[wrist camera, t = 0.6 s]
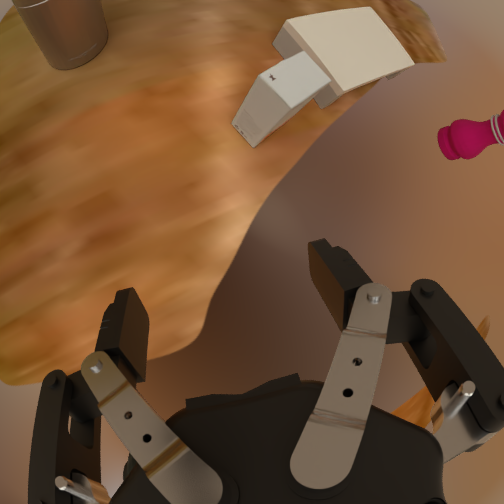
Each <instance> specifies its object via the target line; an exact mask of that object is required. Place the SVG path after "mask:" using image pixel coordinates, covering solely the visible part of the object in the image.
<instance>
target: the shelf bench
mask: <svg viewBox="0 0 504 504" xmlns="http://www.w3.org/2000/svg"><path fill="white" fill-rule="evenodd" d="M272 45H273V46H274V47H275V48H276V49H277V51H278V52H279V53H280V54H281V56H282V57H283V58H284V59H287V58H290V57H291V56H293V55H295V54H297V53H299V52H301V51H305V52H306V53H307V54H308V55H309V57H310V58H311V59H312V60H313V61H314V62H315V63H316V64H317V65H318V66H319V67H320V68H321V69H322V70H323V71H324V73H325V74H326V75H327V76H328V77H329V78H330V79H331V80H332V81H331V82H330V83H329V84H328V85H327V86H326V87H325V88H324V89H322V90H321V91H320V92H319V93H318V94H317V95H316V96H315V97H314V100H315V101H316V102H317V104H318V105H319V107H320V108H321V109H323V108H325V107H327V106H329V105H330V104H332V103H333V102H334V101H335V100H337V99H338V98H339V97H341V96H342V95H343V94H345V93H346V92H348V91H351V90H353V89H356V88H358V87H360V86H363V85H365V84H368V83H370V82H373V81H375V80H378V79H380V78H383V77H385V76H386V77H387V78H388V79H391V78H394V77H395V76H397V75H398V74H400V73H401V72H403V71H405V70H406V69H408V68H410V67H411V66H413V65H415V63H414V62H413V61H412V59H411V58H410V56H409V55H408V53H407V52H406V51H405V49H404V48H403V46H402V45H401V44H400V42H399V41H398V40H397V38H396V37H395V36H394V35H393V33H392V32H391V31H390V30H389V28H388V27H387V26H386V25H385V23H384V22H383V21H382V20H381V19H380V17H379V16H378V15H377V14H376V13H375V12H374V11H373V9H372V8H371V7H361V8H352V9H343V10H336V11H329V12H323V13H317V14H311V15H306V16H301V17H296V18H292V19H287V20H286V21H285V23H284V25H283V26H282V28H281V30H280V31H279V33H278V35H277V36H276V38H275V40H274V42H273V43H272Z"/></svg>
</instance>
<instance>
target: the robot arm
mask: <svg viewBox="0 0 504 504" xmlns="http://www.w3.org/2000/svg"><path fill="white" fill-rule="evenodd" d="M12 2H13V3H14V5H15V7H16V9H17V10H18V12H19V14H20V16H21V17H22V19H23V21H24V23H25V24H26V26H27V28H28V29H29V31H30V33H31V34H32V36H33V38H34V39H35V41H36V43H37V44H38V46H39V47H40V49H41V51H42V52H43V54H44V56H45V57H46V59H47V60H48V62H49V63H50V65H51V66H52V67H54V68H56V69H60V70H68V69H72V68H76V67H78V66H81V65H83V64H85V63H87V62H88V61H90V60H91V59H92V58H94V57H95V56H96V55H97V54H98V53H99V52H100V51H101V50H102V48H103V47H104V45H105V44H106V41H107V38H108V31H107V27H106V23H105V18H104V13H103V9H102V5H101V1H100V0H12ZM308 255H309V268H310V275H311V278H312V281H313V283H314V285H315V287H316V288H317V290H318V292H319V294H320V295H321V297H322V299H323V301H324V302H325V304H326V306H327V307H328V309H329V311H330V313H331V315H332V316H333V318H334V320H335V322H336V323H337V325H338V327H339V329H340V331H341V332H342V335H341V338H340V341H339V344H338V347H337V350H336V353H335V356H334V359H333V362H332V365H331V367H330V370H329V373H328V375H327V378H326V381H325V382H321V381H314V380H300V378H299V375H298V373H295V374H292V375H289V376H285V377H282V378H278V379H274V380H271V381H268V382H266V383H265V384H263V385H261V386H259V387H257V388H255V389H253V390H250V391H248V392H247V393H244V394H237V395H228V394H226V395H225V394H211V395H206V396H201V397H196V398H190V399H186V408H184V409H182V410H180V411H178V412H177V413H175V414H174V415H172V416H171V417H170V418H169V419H168V420H167V421H166V422H165V421H164V420H163V419H162V418H161V416H160V415H159V414H158V413H157V412H156V411H155V410H154V409H153V408H152V407H151V406H150V404H149V403H147V401H146V400H145V399H144V398H143V397H142V395H141V394H140V393H139V392H138V391H137V390H136V383H139V382H145V377H146V376H145V375H146V360H147V346H148V334H149V317H148V314H147V312H146V310H145V308H144V306H143V304H142V302H141V300H140V299H139V297H138V295H137V293H136V291H135V289H134V288H133V287H131V288H127V289H123V290H119V291H117V293H116V296H115V300H114V303H112V304H110V305H109V306H108V308H107V309H106V311H105V312H104V315H103V319H102V323H101V327H100V328H101V329H100V331H99V335H98V339H97V343H96V347H95V352H93V353H91V354H90V355H88V356H87V357H86V358H85V359H84V361H83V363H82V365H81V370H79V371H77V372H75V373H73V374H71V375H68V376H67V375H66V374H65V373H64V372H63V371H62V370H54V371H52V372H50V373H49V374H48V375H47V376H46V377H45V378H44V380H43V383H42V387H41V391H40V396H39V401H38V406H37V412H36V418H35V424H34V430H33V437H32V445H31V454H30V465H29V481H28V504H447V503H446V500H445V497H444V493H443V486H442V473H443V464H444V463H446V462H448V461H450V460H451V459H453V458H455V457H456V456H458V455H460V454H461V453H463V452H464V451H465V452H471V451H474V450H476V449H477V448H479V447H480V446H481V445H483V444H484V443H485V442H486V441H488V440H489V439H490V438H491V437H493V435H495V434H496V433H497V432H499V431H500V430H501V429H502V428H503V427H504V368H503V366H502V365H501V363H500V362H499V360H498V359H497V358H496V356H495V355H494V353H493V352H492V350H491V349H490V348H489V346H488V345H487V343H486V342H485V341H484V339H483V338H482V337H481V335H480V334H479V333H478V331H477V330H476V329H475V327H474V326H473V325H472V324H471V322H470V321H469V320H468V319H467V317H466V316H465V315H464V313H463V312H462V311H461V310H460V308H459V307H458V306H457V305H456V304H455V302H454V301H453V300H452V299H451V298H450V297H449V295H448V294H447V293H446V292H445V291H444V290H443V288H442V287H441V286H440V285H439V284H438V283H437V282H435V281H433V280H429V279H419V280H417V281H415V282H414V283H413V284H412V285H411V289H410V291H400V292H391V291H390V290H389V288H387V287H386V286H384V285H382V284H379V283H373V282H372V280H371V279H370V278H369V276H368V275H367V274H366V273H365V272H364V271H363V269H362V268H361V267H360V266H359V265H358V264H357V262H356V261H355V260H354V259H353V258H352V256H351V255H350V254H349V253H348V251H346V250H344V249H342V248H341V247H339V246H337V247H333V248H332V247H331V245H330V244H329V243H328V242H327V240H326V239H325V238H323V239H319V240H316V241H312V242H309V243H308ZM392 343H402V344H403V346H404V347H405V349H406V351H407V353H408V354H409V356H410V358H411V359H412V361H413V363H414V365H415V366H416V368H417V370H418V372H419V373H420V375H421V377H422V379H423V381H424V382H425V384H426V386H427V388H428V390H429V392H430V393H431V395H432V397H433V399H434V401H435V404H434V406H433V407H432V410H431V420H432V423H433V432H432V433H430V432H429V431H427V430H426V429H424V428H422V427H420V426H417V425H415V424H413V423H410V422H408V421H406V420H404V419H401V418H399V417H397V416H395V415H392V414H390V413H388V412H386V411H384V410H382V409H380V408H377V407H375V406H373V405H371V404H372V400H373V396H374V392H375V388H376V384H377V380H378V376H379V371H380V367H381V362H382V357H383V353H384V347H385V344H392ZM101 415H103V416H104V417H105V419H106V420H107V422H108V423H109V425H110V426H111V428H112V429H113V430H114V432H115V433H116V435H117V436H118V437H119V439H120V440H121V442H122V443H123V444H124V445H125V447H126V448H127V449H128V451H129V452H130V453H131V455H132V456H133V457H134V459H135V460H136V461H137V463H136V464H135V466H134V467H133V469H132V470H131V472H130V473H129V474H128V476H127V477H126V479H125V480H124V481H123V483H122V484H121V486H120V487H119V488H118V490H117V491H116V493H115V494H114V495H113V497H112V498H110V497H109V495H108V492H107V490H106V488H105V487H104V486H103V485H101V467H100V433H101ZM69 416H71V427H70V434H69V432H68V420H69Z"/></svg>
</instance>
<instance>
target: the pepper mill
mask: <svg viewBox="0 0 504 504" xmlns="http://www.w3.org/2000/svg"><path fill="white" fill-rule="evenodd" d="M438 143H439V147H440V149H441V151H442V153H443V154H444V155H445V157H446V158H447V159H449V160H455V159H459V158H460V157H462V158H463V159H471V158H474V157H476V156H477V155H478V154H479V153H481V152H482V151H483V150H484V149H485V148H486V147H487V146H489V145H492V144H496V143H499V144H500V145H504V110H503V111H502V112H501V115H498V114H496V115H495V116H494V115H493V116H492V117H491V119H490V120H487V121H484V122H476V121H471V120H466V119H460V120H456V121H454V122H453V123H452V124H451V126H446V127H444V128H441V129H440V130H439V132H438Z"/></svg>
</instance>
